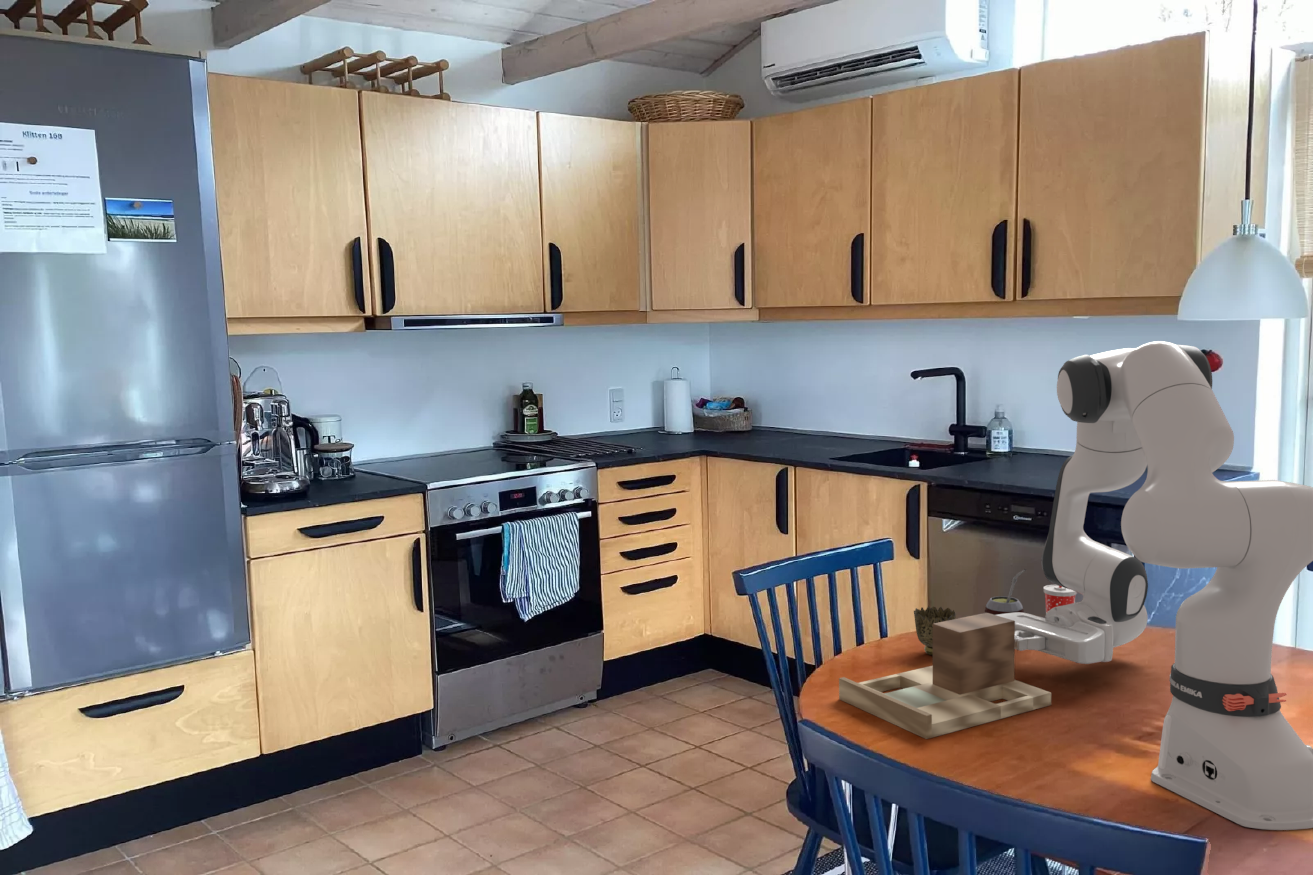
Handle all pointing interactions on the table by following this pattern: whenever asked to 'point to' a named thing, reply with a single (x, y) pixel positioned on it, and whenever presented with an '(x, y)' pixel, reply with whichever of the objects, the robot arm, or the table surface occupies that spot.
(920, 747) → the table surface
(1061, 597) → the beverage cup
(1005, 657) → the block
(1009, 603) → the mate gourd
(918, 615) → the cup
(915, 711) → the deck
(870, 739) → the table surface
